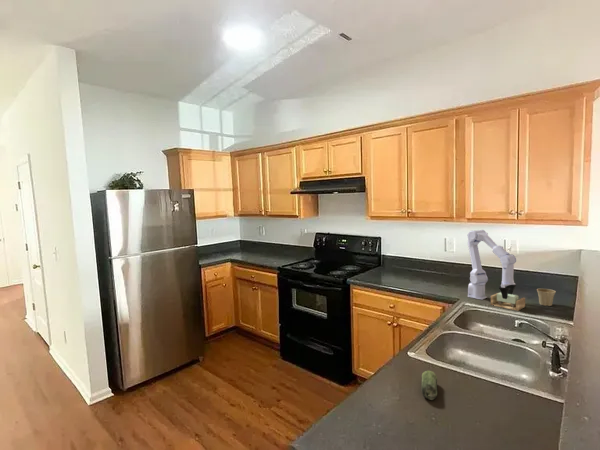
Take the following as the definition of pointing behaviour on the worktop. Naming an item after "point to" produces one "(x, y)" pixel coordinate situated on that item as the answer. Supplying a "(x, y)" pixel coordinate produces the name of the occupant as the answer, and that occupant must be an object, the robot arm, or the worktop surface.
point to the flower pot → (546, 296)
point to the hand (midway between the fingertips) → (507, 297)
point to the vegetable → (429, 385)
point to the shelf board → (508, 298)
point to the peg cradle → (517, 306)
